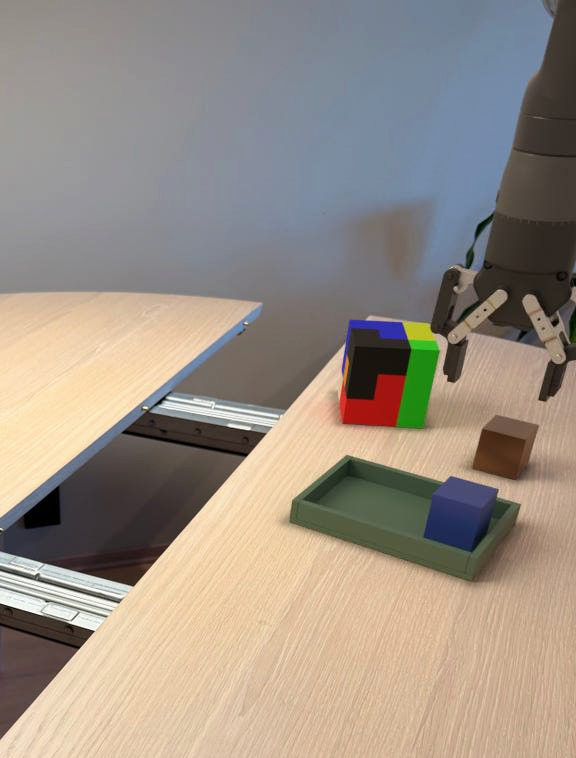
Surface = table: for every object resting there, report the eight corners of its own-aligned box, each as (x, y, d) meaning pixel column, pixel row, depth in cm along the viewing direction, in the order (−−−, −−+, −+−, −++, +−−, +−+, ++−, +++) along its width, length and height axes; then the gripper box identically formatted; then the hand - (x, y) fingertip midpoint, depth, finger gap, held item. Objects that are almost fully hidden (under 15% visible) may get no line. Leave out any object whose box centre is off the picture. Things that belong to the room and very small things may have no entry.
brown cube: (527, 464, 115) (539, 424, 113) (514, 480, 112) (526, 439, 109) (485, 453, 118) (495, 414, 115) (471, 468, 115) (481, 428, 112)
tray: (515, 525, 104) (521, 503, 102) (471, 581, 95) (477, 558, 93) (343, 475, 113) (346, 454, 111) (288, 521, 104) (291, 499, 102)
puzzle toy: (337, 393, 133) (349, 319, 127) (413, 397, 132) (428, 323, 126) (342, 423, 125) (355, 346, 119) (423, 428, 124) (439, 350, 118)
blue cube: (487, 532, 101) (499, 488, 98) (471, 552, 98) (483, 508, 95) (440, 518, 104) (450, 475, 101) (422, 537, 100) (432, 493, 97)
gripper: (640, 209, 83) (585, 393, 93) (472, 189, 90) (437, 362, 99) (622, 227, 78) (565, 419, 88) (445, 205, 85) (410, 386, 94)
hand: (497, 389), depth 93 cm, fingers open, 8 cm apart
